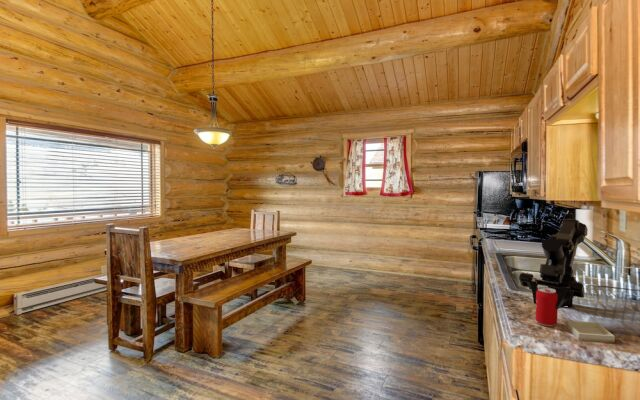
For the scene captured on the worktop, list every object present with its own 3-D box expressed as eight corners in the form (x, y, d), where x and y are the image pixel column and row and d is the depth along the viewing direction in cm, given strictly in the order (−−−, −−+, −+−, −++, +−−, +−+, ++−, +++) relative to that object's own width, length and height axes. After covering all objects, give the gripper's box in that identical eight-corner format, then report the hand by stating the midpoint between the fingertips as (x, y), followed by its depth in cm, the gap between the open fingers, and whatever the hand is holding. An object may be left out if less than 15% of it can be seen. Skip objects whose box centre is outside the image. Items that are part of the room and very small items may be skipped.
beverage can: (553, 320, 121) (554, 287, 120) (559, 328, 115) (560, 293, 114) (533, 318, 123) (534, 285, 122) (538, 326, 117) (539, 291, 116)
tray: (597, 328, 115) (597, 322, 114) (614, 342, 105) (614, 336, 105) (565, 326, 117) (565, 320, 117) (578, 339, 108) (578, 333, 108)
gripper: (521, 250, 127) (510, 287, 120) (584, 259, 113) (576, 301, 107) (526, 267, 133) (517, 303, 126) (587, 277, 120) (580, 318, 113)
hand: (545, 306), depth 118 cm, fingers closed on beverage can, 6 cm apart
